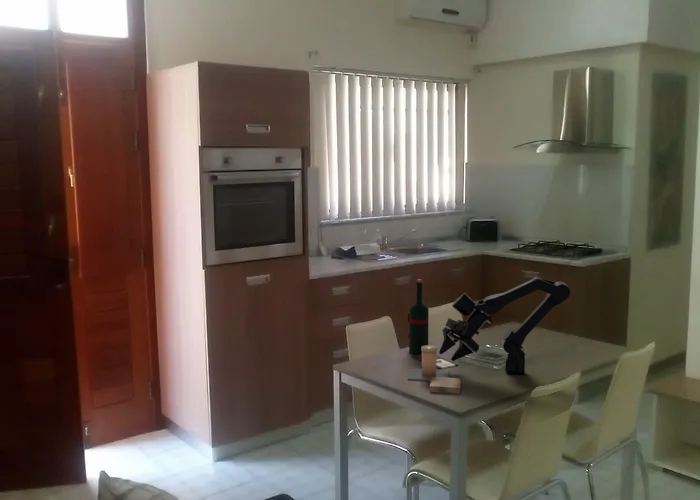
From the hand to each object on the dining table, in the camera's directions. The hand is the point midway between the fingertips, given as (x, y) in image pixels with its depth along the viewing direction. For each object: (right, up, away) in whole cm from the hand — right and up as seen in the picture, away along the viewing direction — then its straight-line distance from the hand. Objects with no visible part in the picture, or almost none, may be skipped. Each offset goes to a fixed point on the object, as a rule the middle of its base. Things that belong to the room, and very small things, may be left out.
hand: (445, 356), depth 244 cm
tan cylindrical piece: (-6, -6, -1) cm, 9 cm away
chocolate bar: (-2, -5, +16) cm, 17 cm away
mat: (-6, -7, -1) cm, 9 cm away
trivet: (-2, -8, -14) cm, 16 cm away
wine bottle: (-8, -3, +29) cm, 30 cm away
